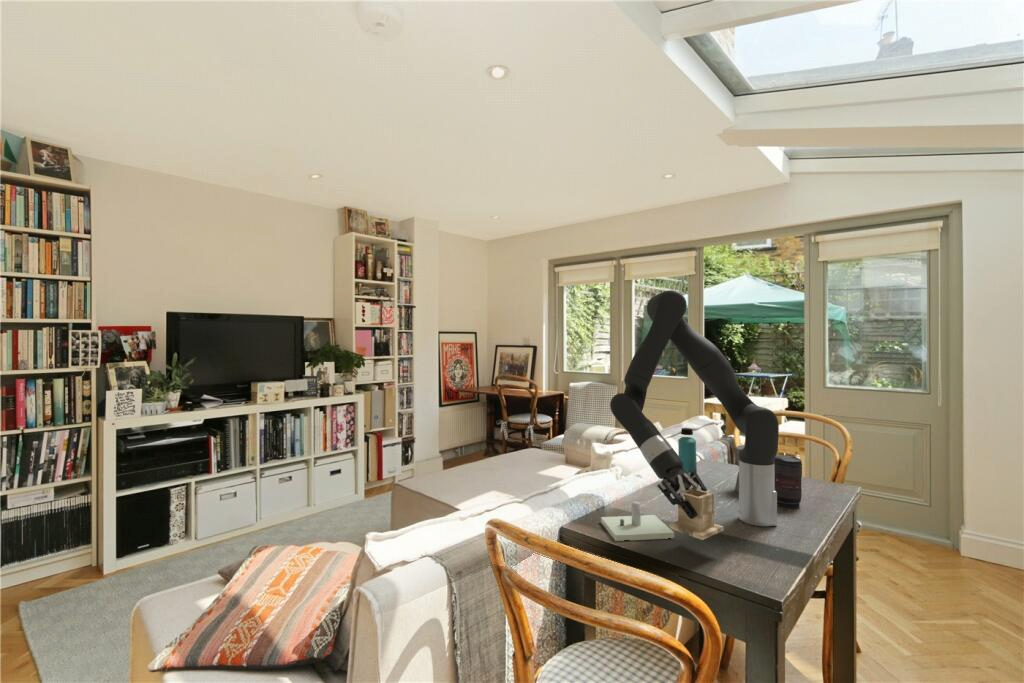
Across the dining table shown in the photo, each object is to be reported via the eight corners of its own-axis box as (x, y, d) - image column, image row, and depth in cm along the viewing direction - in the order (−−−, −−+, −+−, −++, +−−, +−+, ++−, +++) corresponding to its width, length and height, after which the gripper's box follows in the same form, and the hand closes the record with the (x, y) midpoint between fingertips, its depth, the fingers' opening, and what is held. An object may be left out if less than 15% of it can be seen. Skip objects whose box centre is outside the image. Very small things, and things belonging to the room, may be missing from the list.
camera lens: (786, 510, 147) (786, 461, 147) (767, 501, 155) (766, 455, 155) (808, 508, 149) (808, 460, 149) (788, 500, 157) (788, 454, 157)
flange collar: (690, 519, 124) (690, 485, 124) (723, 530, 117) (722, 493, 117) (669, 528, 119) (668, 492, 119) (702, 540, 112) (701, 501, 112)
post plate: (654, 520, 139) (654, 494, 139) (674, 538, 126) (674, 509, 126) (600, 522, 138) (600, 496, 138) (615, 541, 125) (615, 512, 125)
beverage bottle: (698, 485, 172) (698, 430, 172) (679, 484, 174) (679, 429, 174) (695, 480, 179) (695, 427, 179) (676, 479, 180) (676, 426, 180)
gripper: (651, 452, 120) (695, 513, 110) (685, 444, 128) (728, 499, 119) (635, 468, 124) (675, 528, 115) (669, 460, 133) (709, 515, 123)
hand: (702, 513), depth 117 cm, fingers closed on flange collar, 6 cm apart
